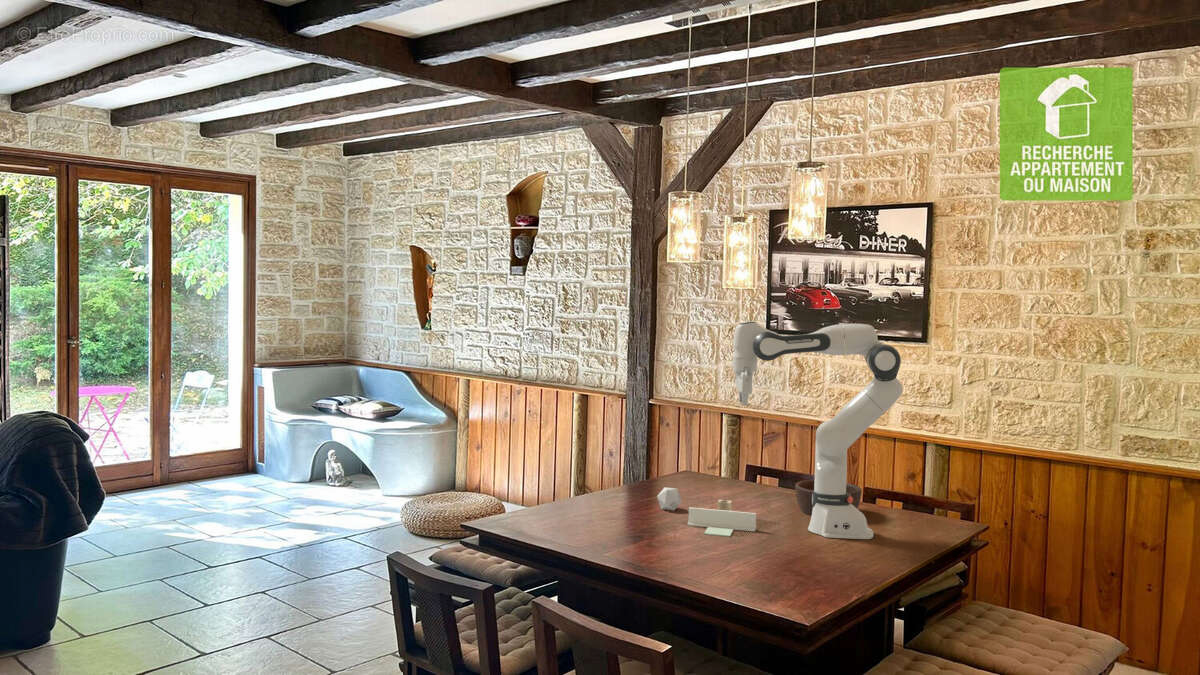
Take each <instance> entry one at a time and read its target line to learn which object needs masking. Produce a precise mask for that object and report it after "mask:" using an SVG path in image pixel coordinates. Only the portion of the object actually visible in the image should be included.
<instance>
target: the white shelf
mask: <svg viewBox="0 0 1200 675" xmlns="http://www.w3.org/2000/svg"><path fill="white" fill-rule="evenodd" d="M687 526H689V527H690V526H691V527H700V528H708V527H715V528H726V529H733V531H734V530H735V531H744V532H756V530H757V512H746V511H737V510H736V511H735V510H731V511H726V510H718V509H715V508H714V509H713V508H712V509H711V508H705V507H704V508H701V507H699V508H698V507H691V506H689V507H688V522H687Z"/></svg>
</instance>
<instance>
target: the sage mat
mask: <svg viewBox="0 0 1200 675" xmlns="http://www.w3.org/2000/svg"><path fill="white" fill-rule="evenodd" d="M733 532H734V530H733V529H726V528H715V527H706V529H705V531H704V533H703V535H709V536H717V537H718V536H719V537H720V536H721V537H728V538H729V537H731V536H732V534H733Z"/></svg>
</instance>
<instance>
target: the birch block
mask: <svg viewBox="0 0 1200 675" xmlns="http://www.w3.org/2000/svg"><path fill="white" fill-rule="evenodd" d="M732 506H733V504H732V500H730V499H729V500H728V499H718V501H717V510H726V511H732Z"/></svg>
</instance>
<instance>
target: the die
mask: <svg viewBox="0 0 1200 675" xmlns="http://www.w3.org/2000/svg"><path fill="white" fill-rule="evenodd" d="M656 498H657V502H658V503H659V506H660V510H665V511H675V510H676V509H678V507H679V506H680V505H681V503H682V497H681V494H680V492H679V489H678V488H674V487H667V486H666V487H663V489H662V490H661V491H660V492H659V493H658V495H657V496H656Z"/></svg>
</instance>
